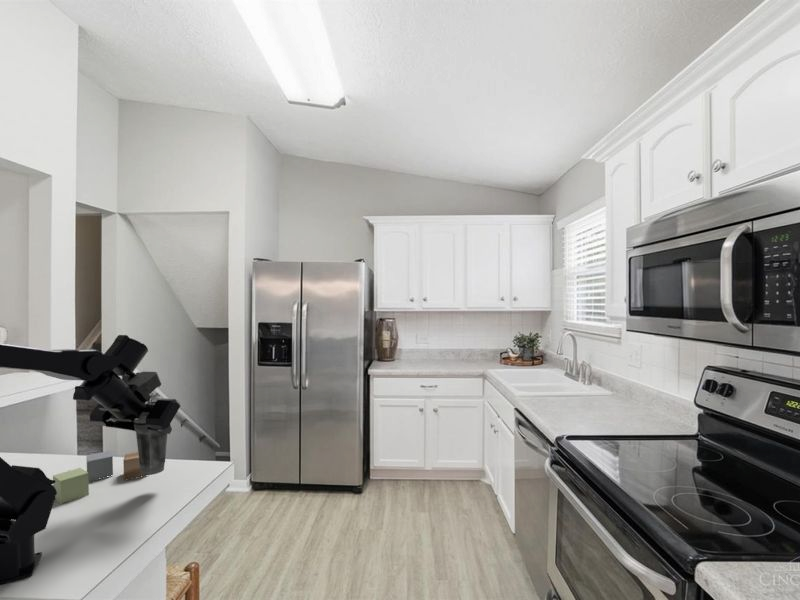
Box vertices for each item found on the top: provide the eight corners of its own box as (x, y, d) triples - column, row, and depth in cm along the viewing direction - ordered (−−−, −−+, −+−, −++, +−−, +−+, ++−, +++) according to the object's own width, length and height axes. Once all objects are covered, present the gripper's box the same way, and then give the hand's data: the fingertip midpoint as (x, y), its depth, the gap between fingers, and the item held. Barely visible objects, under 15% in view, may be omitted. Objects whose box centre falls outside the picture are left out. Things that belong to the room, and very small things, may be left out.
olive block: (88, 494, 93) (88, 472, 93) (61, 504, 88) (60, 481, 88) (80, 489, 95) (80, 467, 95) (53, 498, 91) (52, 475, 91)
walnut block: (148, 476, 102) (147, 455, 102) (123, 480, 100) (123, 460, 100) (148, 468, 106) (148, 449, 106) (125, 473, 104) (125, 453, 104)
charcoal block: (112, 476, 102) (112, 456, 102) (87, 482, 99) (87, 461, 99) (111, 470, 106) (110, 450, 106) (86, 475, 103) (86, 455, 103)
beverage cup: (178, 466, 96) (177, 380, 96) (152, 479, 89) (150, 386, 89) (153, 463, 98) (152, 378, 98) (125, 476, 91) (124, 385, 91)
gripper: (173, 362, 88) (208, 401, 98) (101, 360, 92) (143, 398, 102) (142, 408, 80) (185, 446, 91) (66, 404, 84) (115, 441, 95)
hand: (157, 431), depth 95 cm, fingers closed on beverage cup, 7 cm apart
